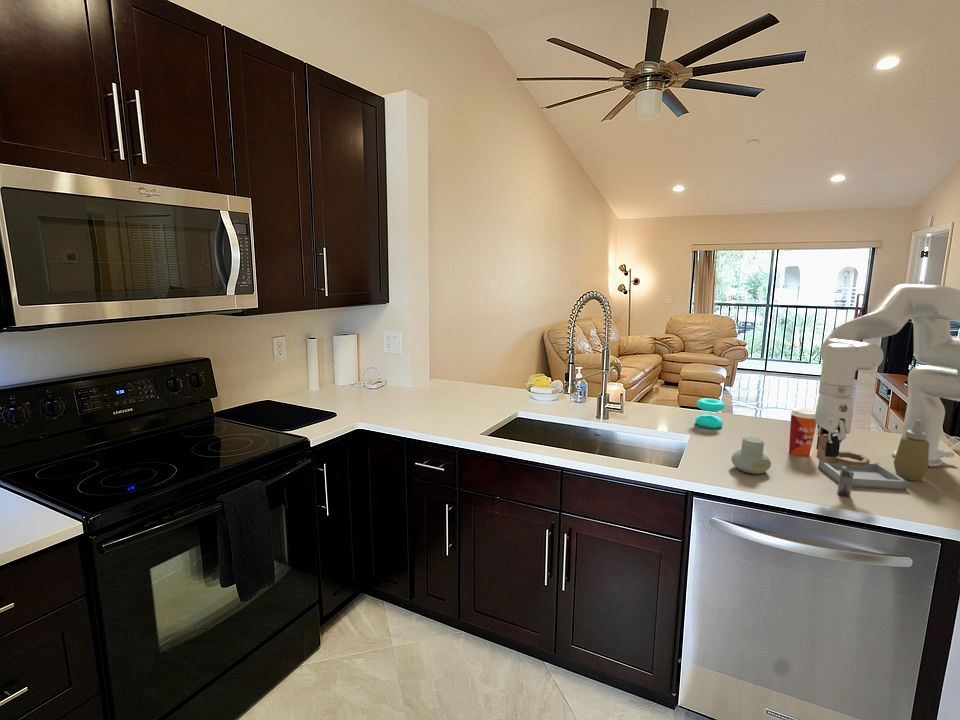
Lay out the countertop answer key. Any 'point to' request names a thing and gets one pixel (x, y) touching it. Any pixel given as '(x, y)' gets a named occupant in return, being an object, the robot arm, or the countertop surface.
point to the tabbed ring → (840, 455)
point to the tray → (867, 476)
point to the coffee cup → (802, 431)
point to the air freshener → (751, 456)
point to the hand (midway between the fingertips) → (827, 452)
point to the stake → (845, 482)
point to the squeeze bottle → (912, 454)
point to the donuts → (712, 406)
